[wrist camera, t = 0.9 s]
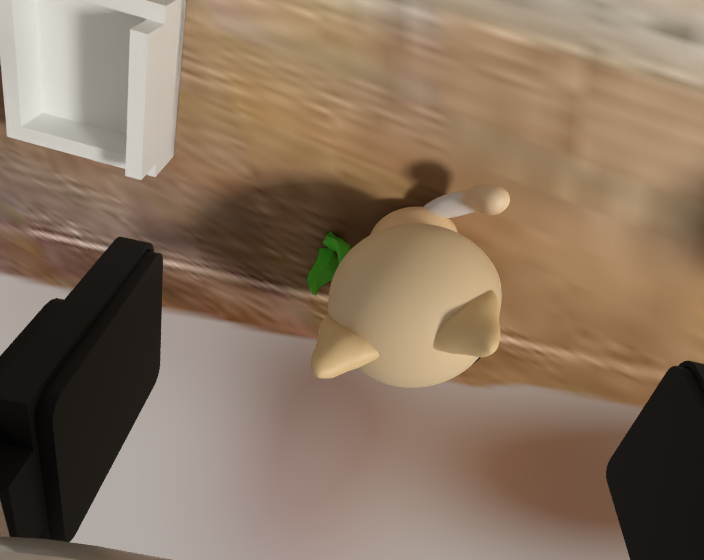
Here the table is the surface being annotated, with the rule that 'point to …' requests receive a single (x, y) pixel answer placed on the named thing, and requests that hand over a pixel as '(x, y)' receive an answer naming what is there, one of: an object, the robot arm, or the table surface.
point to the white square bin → (94, 78)
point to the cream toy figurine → (410, 295)
